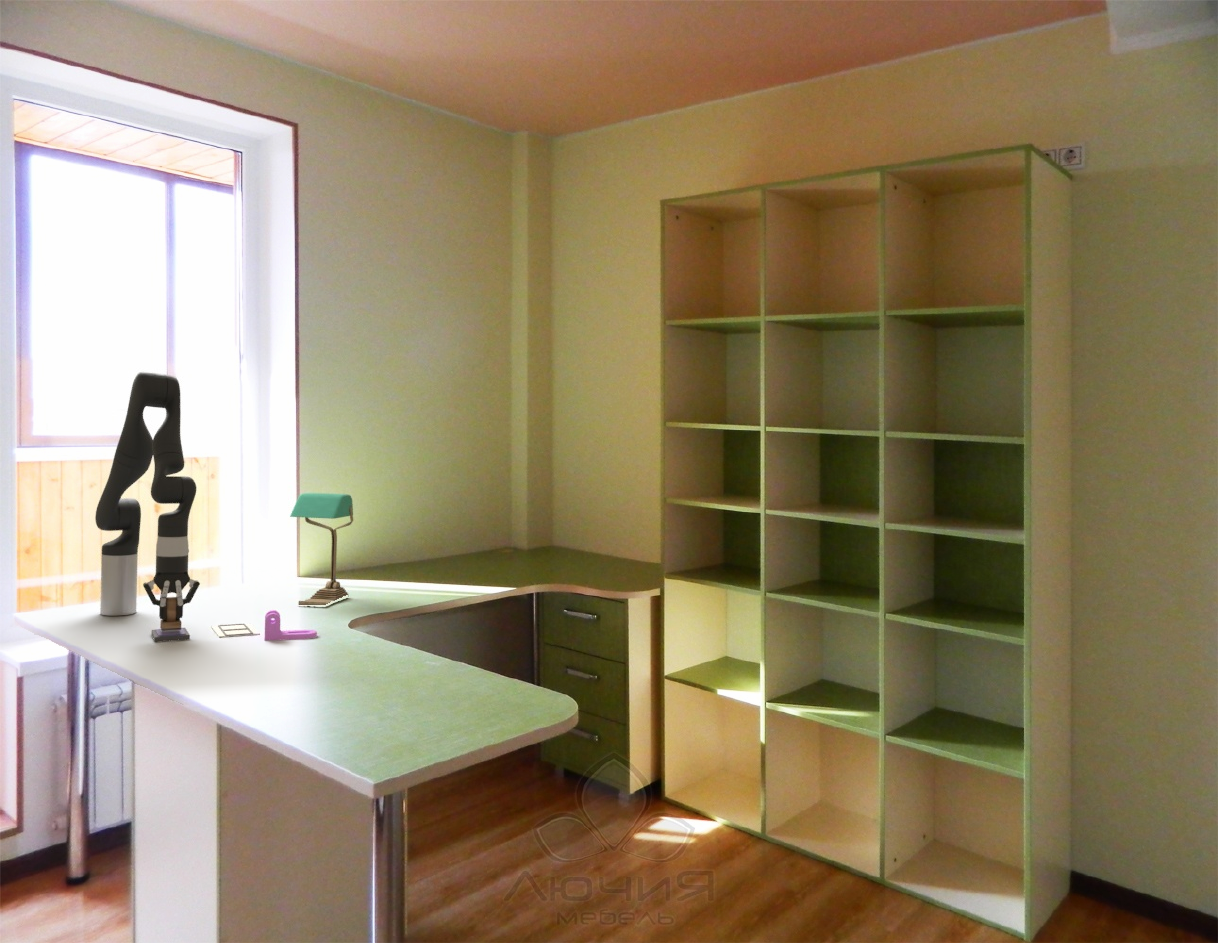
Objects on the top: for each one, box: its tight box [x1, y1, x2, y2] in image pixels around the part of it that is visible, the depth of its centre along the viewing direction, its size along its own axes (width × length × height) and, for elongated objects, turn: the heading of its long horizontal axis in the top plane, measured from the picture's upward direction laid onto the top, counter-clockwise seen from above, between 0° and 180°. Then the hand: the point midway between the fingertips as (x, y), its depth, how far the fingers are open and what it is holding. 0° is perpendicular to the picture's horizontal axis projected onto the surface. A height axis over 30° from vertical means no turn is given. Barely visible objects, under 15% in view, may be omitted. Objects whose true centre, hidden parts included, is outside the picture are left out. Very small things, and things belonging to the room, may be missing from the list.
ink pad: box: [151, 627, 191, 643], centre depth 237 cm, size 10×8×1 cm
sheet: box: [210, 623, 260, 638], centre depth 247 cm, size 14×10×1 cm
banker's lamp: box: [289, 492, 354, 605], centre depth 293 cm, size 16×21×35 cm
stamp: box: [159, 596, 182, 631], centre depth 236 cm, size 4×4×8 cm
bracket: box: [264, 609, 318, 641], centre depth 241 cm, size 13×6×7 cm, turn 111°
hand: (170, 619), depth 236 cm, fingers closed on stamp, 2 cm apart
